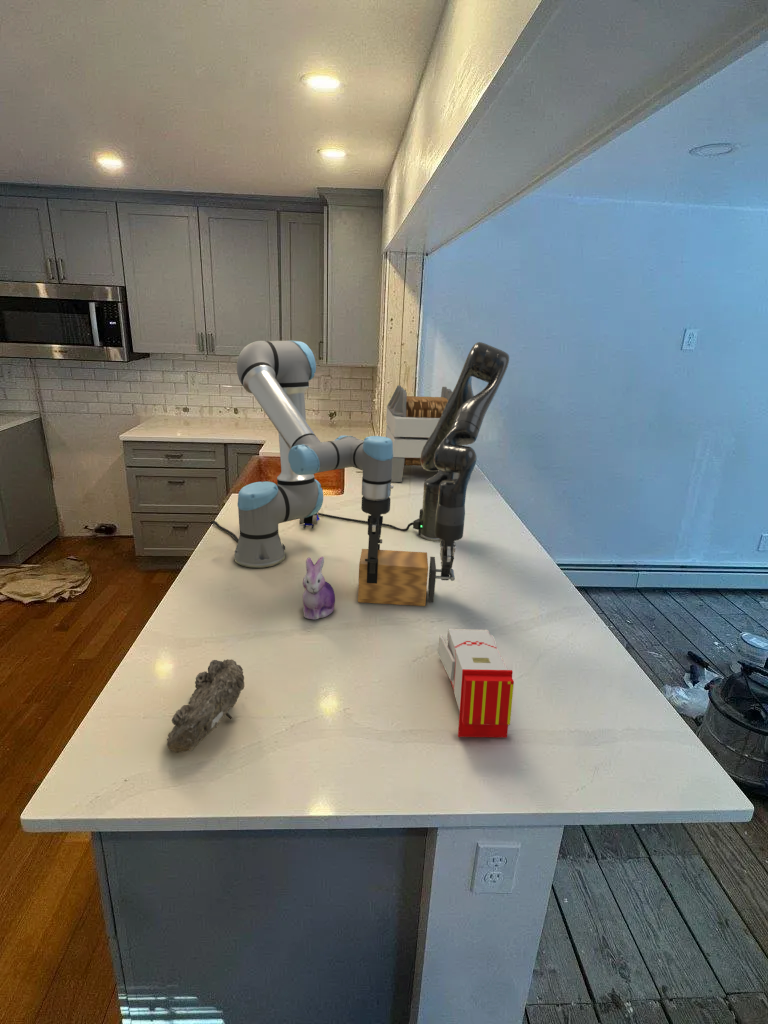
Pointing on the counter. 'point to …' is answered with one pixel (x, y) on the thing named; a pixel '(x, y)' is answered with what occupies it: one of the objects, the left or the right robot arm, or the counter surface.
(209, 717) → the fossil
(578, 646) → the counter surface
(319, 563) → the figurine
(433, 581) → the drawer
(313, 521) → the figurine character
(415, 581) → the zigzag wood grain block
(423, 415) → the transformer
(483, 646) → the toy
